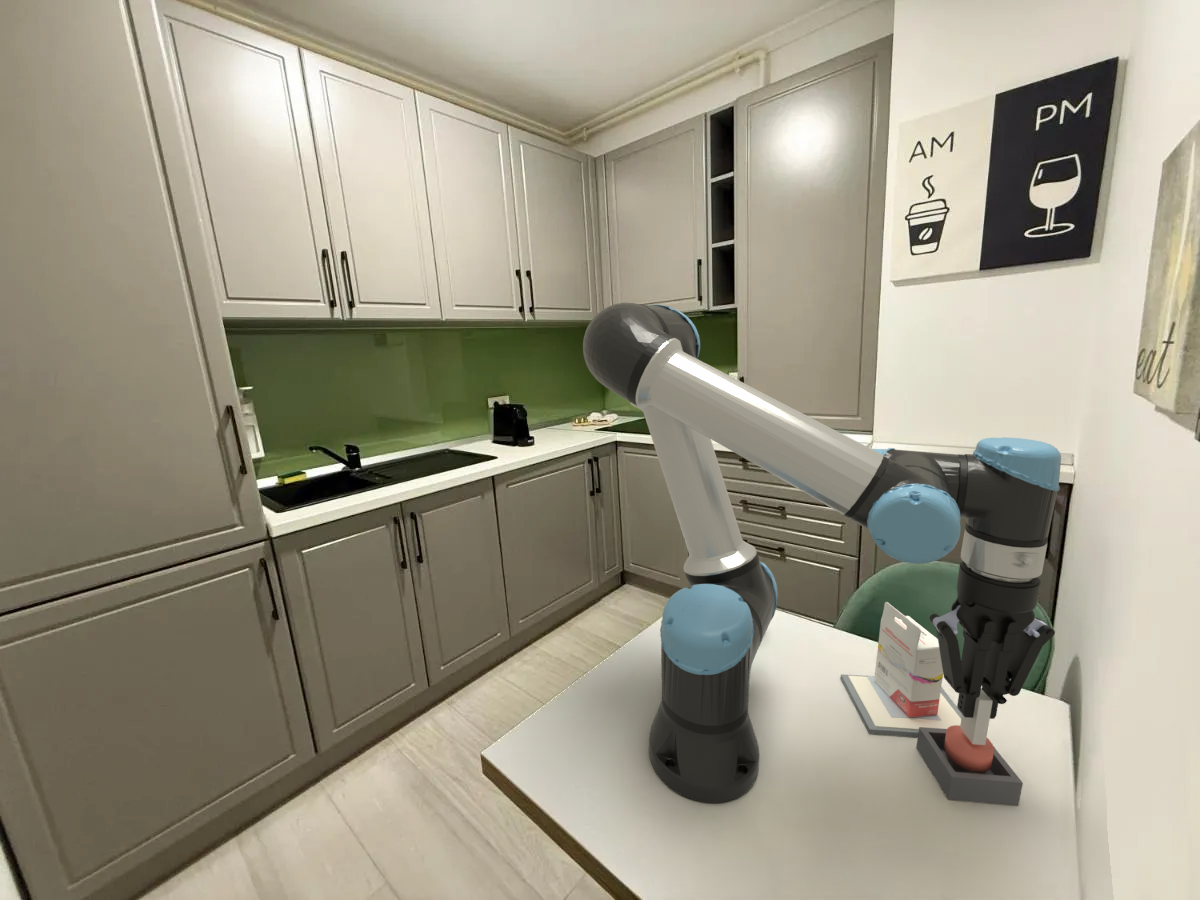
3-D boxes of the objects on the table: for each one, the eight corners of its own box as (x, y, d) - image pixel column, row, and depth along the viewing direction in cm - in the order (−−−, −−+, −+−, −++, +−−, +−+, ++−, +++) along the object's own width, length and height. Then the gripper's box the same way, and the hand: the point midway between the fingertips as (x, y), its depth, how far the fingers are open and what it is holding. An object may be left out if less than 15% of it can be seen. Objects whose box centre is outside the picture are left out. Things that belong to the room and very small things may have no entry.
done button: (957, 771, 62) (960, 754, 61) (936, 739, 67) (938, 723, 66) (1000, 774, 61) (1003, 757, 61) (975, 742, 66) (978, 726, 65)
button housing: (948, 799, 61) (951, 777, 60) (916, 747, 69) (919, 727, 68) (1018, 806, 60) (1023, 782, 59) (977, 752, 68) (981, 731, 67)
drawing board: (869, 733, 72) (869, 727, 71) (840, 678, 83) (840, 672, 83) (980, 741, 70) (981, 735, 69) (935, 683, 81) (935, 678, 81)
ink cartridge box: (939, 715, 73) (953, 628, 70) (908, 718, 73) (920, 631, 69) (900, 677, 81) (910, 597, 78) (872, 679, 81) (881, 599, 78)
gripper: (958, 582, 55) (933, 756, 60) (1087, 585, 53) (1050, 764, 59) (923, 553, 62) (904, 711, 68) (1036, 556, 61) (1007, 717, 66)
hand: (972, 736), depth 63 cm, fingers closed
